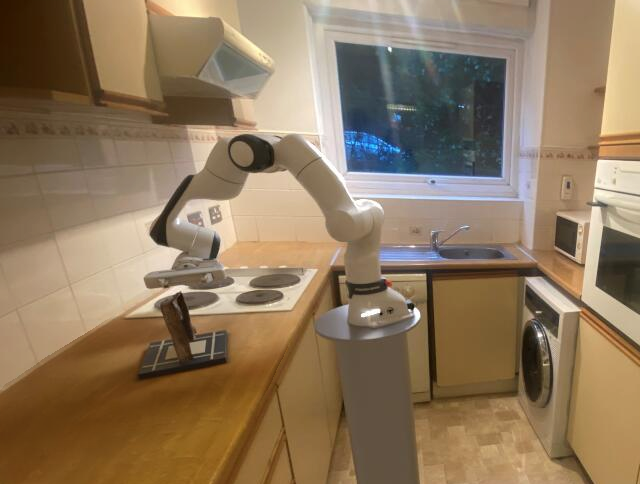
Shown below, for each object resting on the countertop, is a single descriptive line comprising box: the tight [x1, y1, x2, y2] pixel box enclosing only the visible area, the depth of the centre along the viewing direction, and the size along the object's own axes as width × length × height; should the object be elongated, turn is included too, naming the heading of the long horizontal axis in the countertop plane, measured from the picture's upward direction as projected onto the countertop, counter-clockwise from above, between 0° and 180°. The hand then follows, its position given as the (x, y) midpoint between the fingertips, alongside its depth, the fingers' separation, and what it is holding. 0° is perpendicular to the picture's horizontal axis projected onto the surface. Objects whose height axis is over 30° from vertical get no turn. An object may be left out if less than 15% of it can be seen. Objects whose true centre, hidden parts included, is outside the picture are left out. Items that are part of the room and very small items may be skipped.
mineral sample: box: [159, 290, 197, 361], centre depth 113 cm, size 17×4×15 cm, turn 30°
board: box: [137, 329, 229, 380], centre depth 116 cm, size 18×20×2 cm
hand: (185, 283), depth 127 cm, fingers open, 8 cm apart
